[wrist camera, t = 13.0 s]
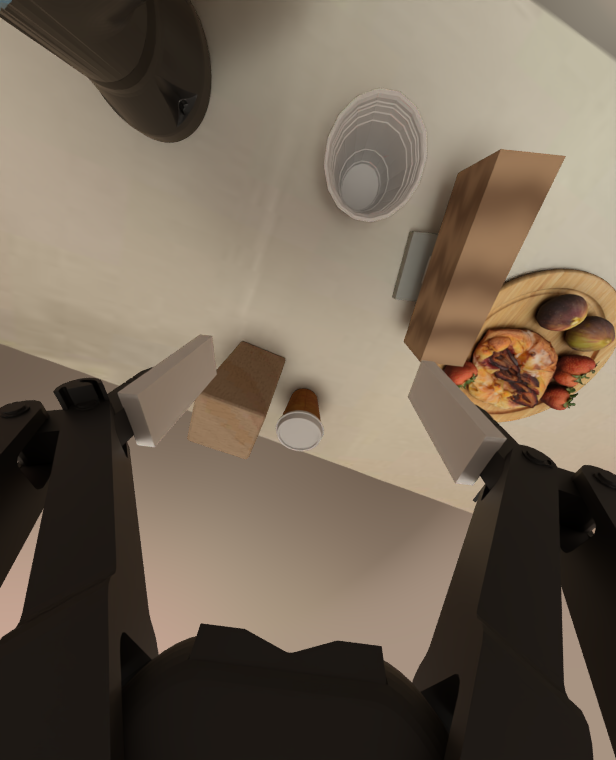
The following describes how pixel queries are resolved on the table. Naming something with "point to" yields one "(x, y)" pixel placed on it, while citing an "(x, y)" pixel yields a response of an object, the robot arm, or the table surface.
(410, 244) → the pedestal
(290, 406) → the disposable coffee cup
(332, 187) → the plastic cup
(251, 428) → the wooden block
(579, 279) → the wooden plate with food
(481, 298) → the walnut beam
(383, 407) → the table surface
